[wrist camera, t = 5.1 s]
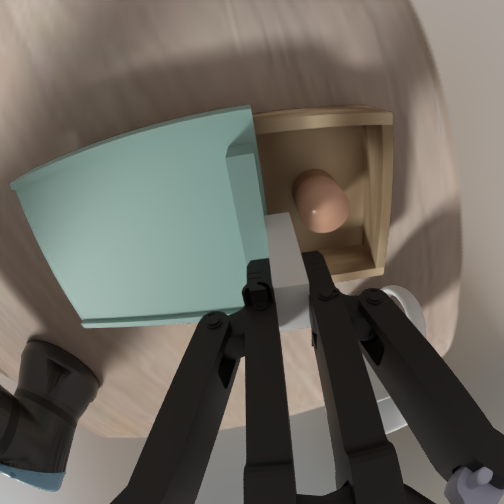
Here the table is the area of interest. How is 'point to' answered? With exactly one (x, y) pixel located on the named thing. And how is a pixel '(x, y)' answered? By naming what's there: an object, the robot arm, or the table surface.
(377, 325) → the robot arm
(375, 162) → the open brown box
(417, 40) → the table surface
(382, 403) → the mug
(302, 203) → the peach egg shape
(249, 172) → the lid
